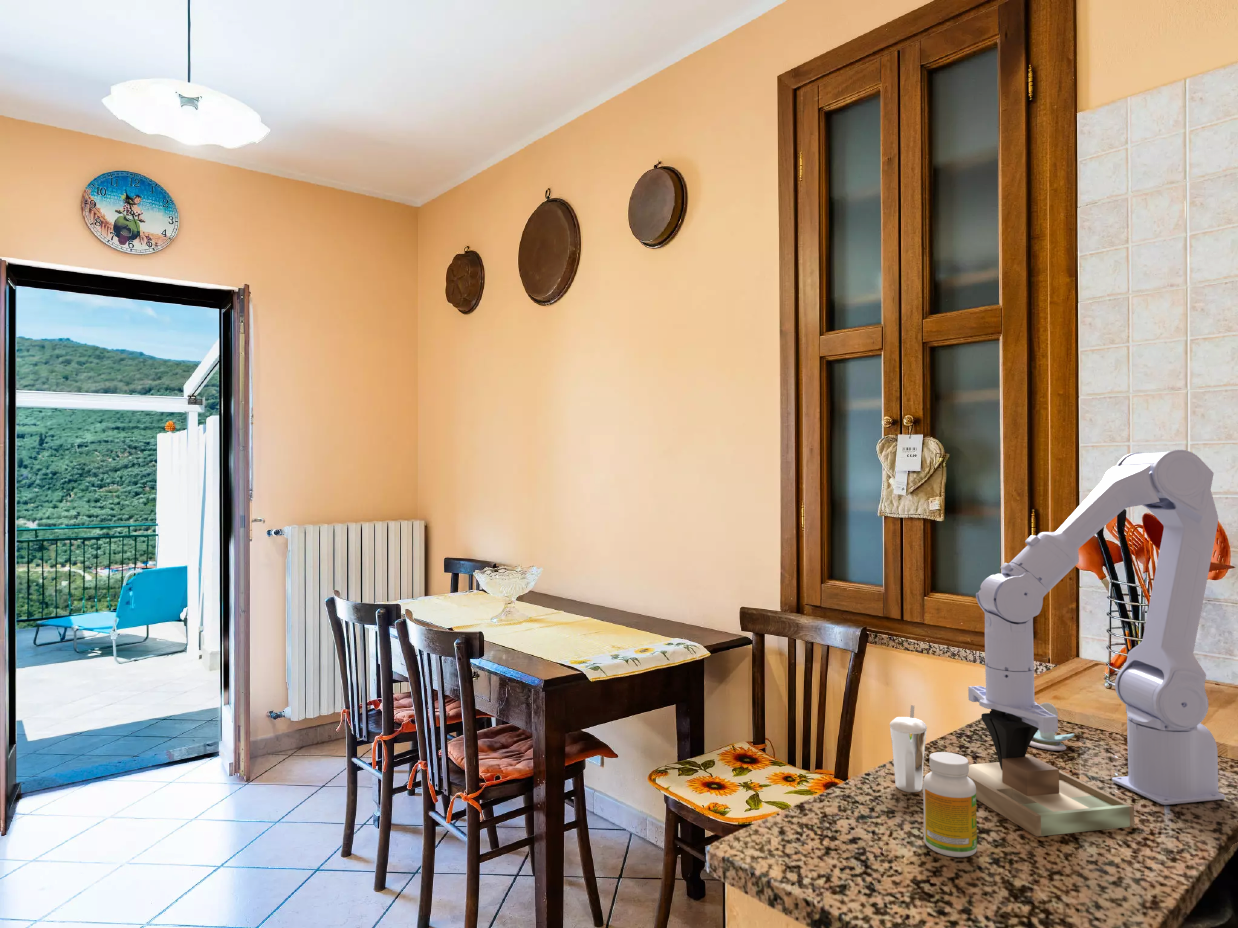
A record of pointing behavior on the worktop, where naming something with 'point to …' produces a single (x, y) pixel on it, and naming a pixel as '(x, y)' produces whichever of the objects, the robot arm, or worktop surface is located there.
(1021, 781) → the walnut block
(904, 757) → the milkshake
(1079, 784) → the tray
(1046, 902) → the worktop surface
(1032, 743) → the pacifier
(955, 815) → the supplement bottle
